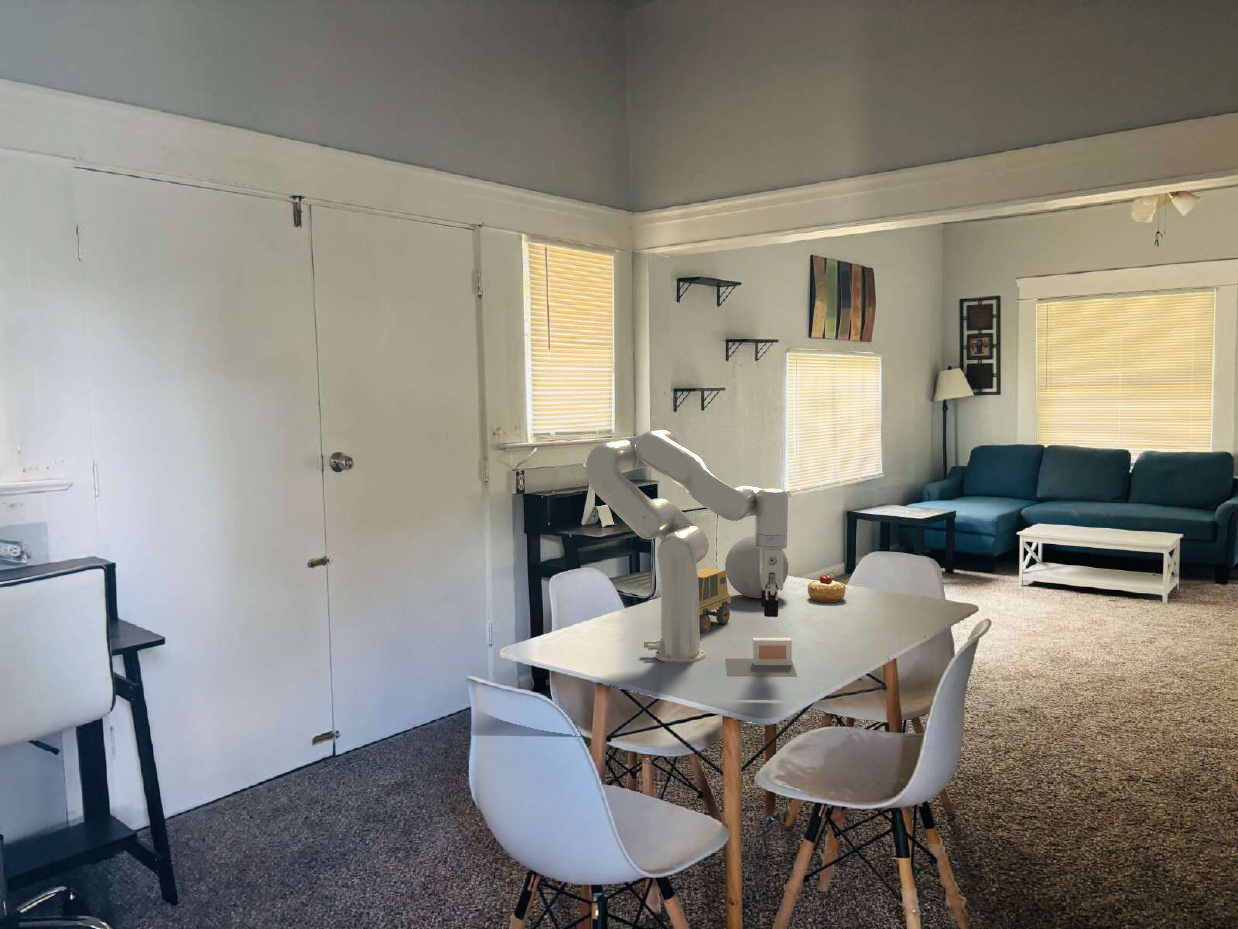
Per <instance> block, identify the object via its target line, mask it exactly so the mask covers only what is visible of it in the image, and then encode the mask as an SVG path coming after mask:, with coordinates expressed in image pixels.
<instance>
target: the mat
mask: <svg viewBox="0 0 1238 929" xmlns="http://www.w3.org/2000/svg"><path fill="white" fill-rule="evenodd" d="M725 671H726V676H727V677H770V678H771V677H773V678H775V677H776V678H777V677H778V678H780V677H781V678H782V677H784V678H787V677H791V678H795V677H798V674H797V672H796V668H795V666H794V663H793V661H792V665H754V664H753V658H725Z"/></svg>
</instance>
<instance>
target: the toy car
mask: <svg viewBox="0 0 1238 929" xmlns="http://www.w3.org/2000/svg"><path fill="white" fill-rule="evenodd" d="M697 574H698V581H699V626H700V633H707V632H708V631H709V630H710V628H711V622H712V621H711V617H710V616H712V617H715V618H716V621H717V623H719V624H720V623H721V625H726V624H727V623H728V622H729V620H730V616H731V615H730V614H731V612H730V609H729V607H728V606H729V604H732V597H731V594H729V591H728V589H729V588H728V578H727V575H726V570H725V569H718V568H706V567H704V568H700V569H697ZM714 610H715V611H714Z"/></svg>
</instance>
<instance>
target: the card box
mask: <svg viewBox="0 0 1238 929" xmlns="http://www.w3.org/2000/svg"><path fill="white" fill-rule="evenodd" d="M792 646H793V643H792V638H791V637H752V659H753V664H754V665H792V662H793V660H792V658H793V657H792V656H793V655H792V654H793V652H792V650H793V648H792Z"/></svg>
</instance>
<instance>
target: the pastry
mask: <svg viewBox="0 0 1238 929" xmlns="http://www.w3.org/2000/svg"><path fill="white" fill-rule="evenodd" d="M829 574H833V575H835V577H836V578H838V577H839V576H838V575H837V574H836V573H835V572H833V571H828V572H827V574H826V575H825V574H824V575H823V574H822V575H821V576H819V580H817V581H810V582H809V583H808V585H807V594H808V596H809V598H810V600H812V599H813V600H812V601H814V600H815V602H818V601H823V602H822V603H836V602H835V601H839V602H841V601H840V600H842V599H843V600H844V597H845V595H846V589H847V587H846V584H845V583H843V582H841V581H838V580H837V581H835V580H833V578H832V577H831V576H829ZM843 600H842V601H843Z"/></svg>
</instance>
